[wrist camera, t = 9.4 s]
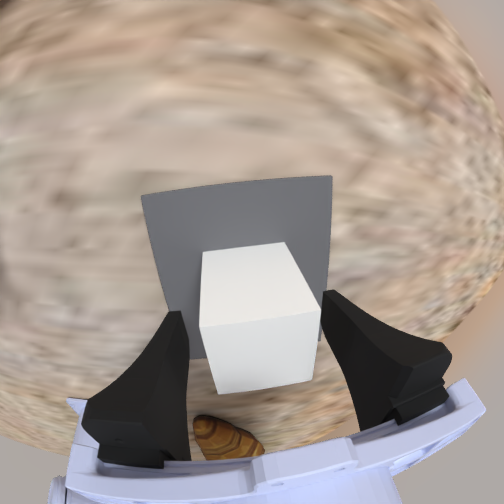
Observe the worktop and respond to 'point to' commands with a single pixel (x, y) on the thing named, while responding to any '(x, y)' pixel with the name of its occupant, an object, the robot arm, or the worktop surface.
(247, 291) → the off-white block
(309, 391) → the worktop surface
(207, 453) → the croissant
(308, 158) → the worktop surface
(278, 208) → the charcoal mat
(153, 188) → the worktop surface
